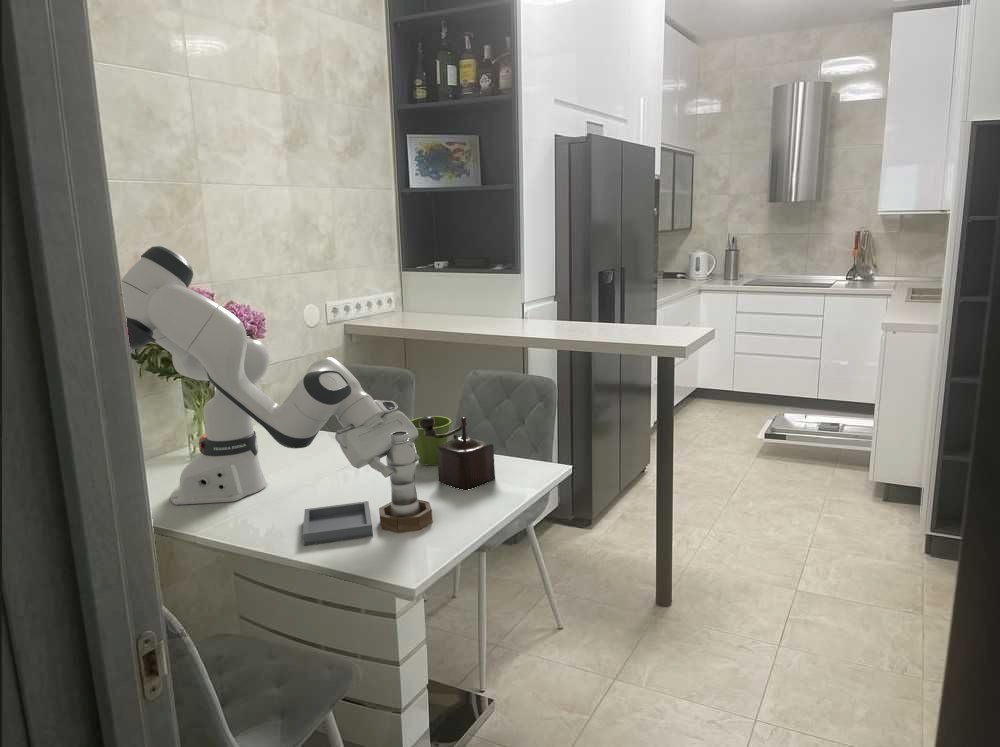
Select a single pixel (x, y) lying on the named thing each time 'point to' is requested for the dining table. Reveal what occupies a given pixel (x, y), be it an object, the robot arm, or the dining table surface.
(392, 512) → the plastic bottle
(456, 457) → the manual coffee grinder
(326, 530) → the charcoal tray
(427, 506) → the walnut collar
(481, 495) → the dining table surface
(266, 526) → the dining table surface
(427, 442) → the plant pot
